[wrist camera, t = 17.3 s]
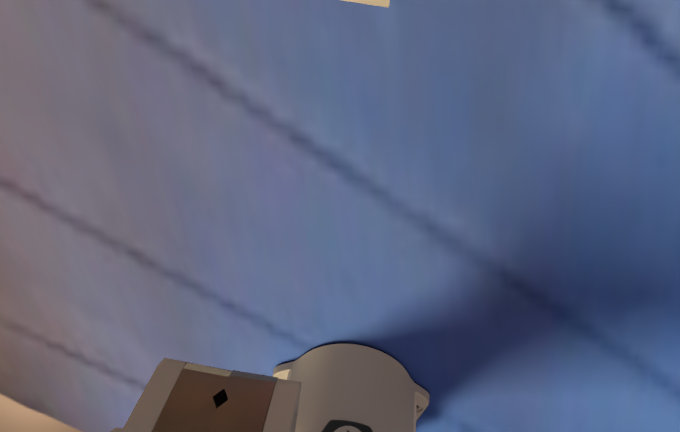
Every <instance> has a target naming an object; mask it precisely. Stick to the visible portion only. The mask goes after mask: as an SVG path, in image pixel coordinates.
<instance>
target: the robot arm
mask: <svg viewBox="0 0 680 432" xmlns="http://www.w3.org/2000/svg"><path fill="white" fill-rule="evenodd" d="M429 399H430V395H429V393H428V392H427V391H426V390H425V389H423V388H422V387H420V386H419V385H417V384H416V383H414V382H413V380H412V379H411V378H410V376H409V374H408V373H407V371H406V370H405V368H404V367H403V366H402V365H401V364H400V363H399V362H398V361H396V360H395V359H394V358H392V357H391V356H389V355H387V354H385V353H383V352H381V351H379V350H376V349H373V348H370V347H366V346H362V345H356V344H331V345H326V346H321V347H318V348H315V349H313V350H311V351H309V352H307V353H306V354H304V355H303V356H301V357H300V358H299V359H297V360H295V361H293V362H289V363H285V364H281V365H278V366H276V367H275V368H274V372H273V377H272V376H265V375H259V374H253V373H247V372H240V371H234V370H233V371H230V370H225V369H220V368H215V367H210V366H204V365H199V364H194V363H189V362H185V361H179V360H173V359H168V358H164V359H163V360H162V361H161V363H160V364H159V365H158V366H157V368H156V370H155V372H154V374H153V375H152V377H151V379H150V381H149V383H148V384H147V386H146V388H145V390H144V392H143V394H142V395H141V397H140V399H139V401H138V403H137V404H136V406H135V408H134V410H133V412H132V414H131V415H130V417H129V419H128V421H127V423H126V424H125V426H124V428H123V429H122V428H115V429H113V430H112V431H111V432H416V421H417V420H418V418H419V417H420V416H421V414H422V413H423V412H424V410H425V409H426V408H427V406H428V405H429Z"/></svg>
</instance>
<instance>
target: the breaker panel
mask: <svg viewBox="0 0 680 432" xmlns="http://www.w3.org/2000/svg"><path fill="white" fill-rule="evenodd" d="M343 1H350V2H356V3H363V4H369V5H376V6H383V7H389V2H390V0H343Z"/></svg>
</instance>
